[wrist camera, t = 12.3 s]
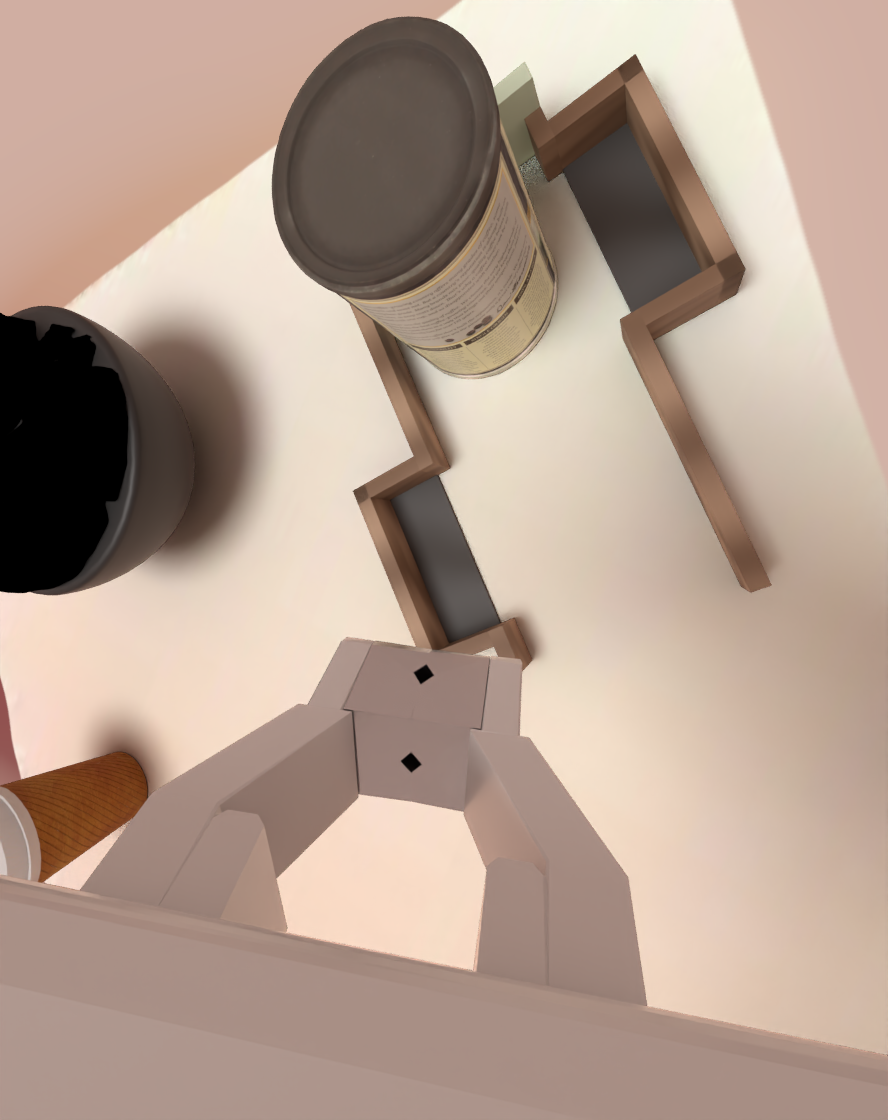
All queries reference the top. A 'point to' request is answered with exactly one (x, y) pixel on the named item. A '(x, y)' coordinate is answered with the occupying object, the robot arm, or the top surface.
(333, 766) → the robot arm
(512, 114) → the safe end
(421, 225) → the coffee can
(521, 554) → the top surface
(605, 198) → the trap lane
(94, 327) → the coal bowl
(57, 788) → the disposable coffee cup
